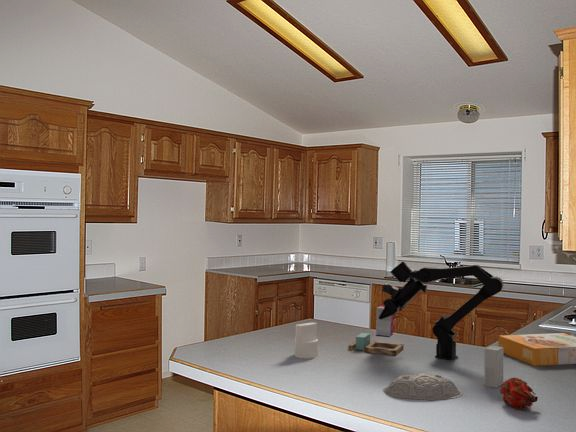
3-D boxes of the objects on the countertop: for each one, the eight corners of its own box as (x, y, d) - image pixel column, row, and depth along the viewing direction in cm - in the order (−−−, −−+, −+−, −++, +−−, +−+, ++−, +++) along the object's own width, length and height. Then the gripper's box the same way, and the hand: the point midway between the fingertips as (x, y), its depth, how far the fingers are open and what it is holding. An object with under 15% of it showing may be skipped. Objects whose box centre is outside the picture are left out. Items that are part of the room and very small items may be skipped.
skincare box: (490, 381, 183) (490, 344, 183) (503, 384, 180) (504, 346, 180) (483, 385, 178) (484, 348, 178) (497, 388, 176) (497, 350, 176)
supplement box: (390, 337, 220) (390, 308, 220) (375, 336, 223) (375, 307, 223) (393, 334, 226) (393, 306, 226) (379, 333, 228) (379, 305, 228)
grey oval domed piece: (375, 384, 178) (377, 363, 177) (451, 387, 180) (453, 367, 179) (388, 405, 162) (390, 383, 162) (471, 408, 165) (473, 386, 164)
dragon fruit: (506, 404, 166) (531, 424, 154) (487, 389, 164) (510, 408, 152) (524, 381, 166) (550, 400, 154) (504, 366, 164) (529, 384, 152)
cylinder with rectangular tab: (305, 359, 208) (305, 327, 208) (289, 354, 215) (290, 323, 215) (322, 355, 214) (323, 324, 214) (307, 351, 221) (307, 321, 221)
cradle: (403, 348, 227) (403, 344, 227) (395, 355, 216) (395, 350, 216) (358, 343, 236) (358, 339, 236) (348, 349, 224) (348, 345, 224)
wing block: (361, 344, 232) (362, 332, 232) (369, 345, 231) (370, 333, 231) (355, 348, 225) (355, 336, 225) (364, 349, 224) (364, 337, 224)
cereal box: (498, 335, 225) (563, 333, 232) (498, 351, 225) (563, 348, 232) (534, 348, 203) (605, 345, 210) (534, 365, 203) (604, 362, 210)
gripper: (399, 274, 231) (374, 299, 236) (388, 278, 214) (360, 305, 219) (419, 294, 228) (392, 319, 232) (408, 300, 211) (380, 327, 215)
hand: (381, 317), depth 225 cm, fingers closed on supplement box, 6 cm apart
